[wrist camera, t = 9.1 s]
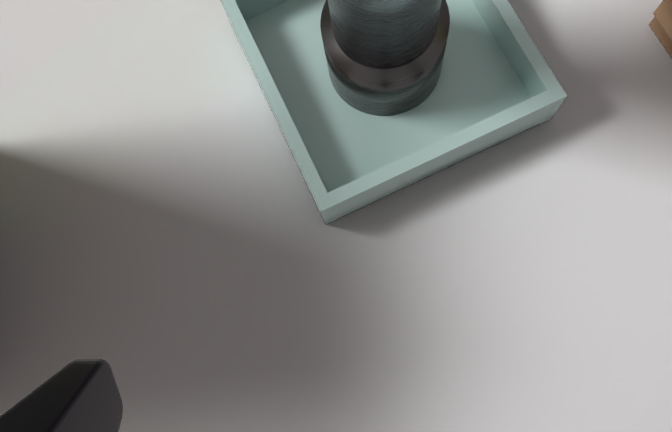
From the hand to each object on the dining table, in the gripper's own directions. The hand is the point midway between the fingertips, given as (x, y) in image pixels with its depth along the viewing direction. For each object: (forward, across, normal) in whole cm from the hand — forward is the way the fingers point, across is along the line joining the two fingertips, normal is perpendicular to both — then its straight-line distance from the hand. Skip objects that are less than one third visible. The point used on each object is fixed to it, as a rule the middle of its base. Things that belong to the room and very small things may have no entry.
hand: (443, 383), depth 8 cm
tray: (+18, +1, +1) cm, 18 cm away
